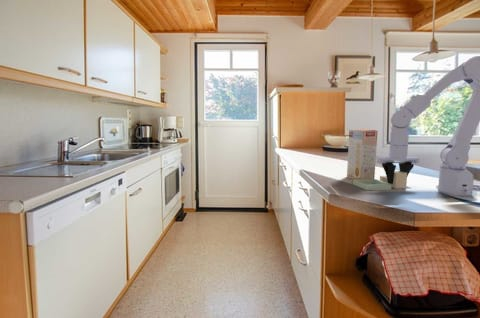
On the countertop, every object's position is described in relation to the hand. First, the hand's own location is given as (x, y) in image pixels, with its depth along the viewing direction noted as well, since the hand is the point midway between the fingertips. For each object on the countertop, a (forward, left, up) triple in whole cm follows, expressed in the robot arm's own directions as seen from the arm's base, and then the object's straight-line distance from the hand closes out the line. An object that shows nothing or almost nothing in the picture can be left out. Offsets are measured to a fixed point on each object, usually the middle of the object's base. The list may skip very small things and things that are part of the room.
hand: (396, 183), depth 112 cm
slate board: (+2, -1, -2) cm, 3 cm away
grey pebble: (+4, +2, -1) cm, 5 cm away
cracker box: (+14, +7, -2) cm, 15 cm away
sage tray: (+2, +9, -2) cm, 9 cm away
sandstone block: (-1, 0, -1) cm, 2 cm away
